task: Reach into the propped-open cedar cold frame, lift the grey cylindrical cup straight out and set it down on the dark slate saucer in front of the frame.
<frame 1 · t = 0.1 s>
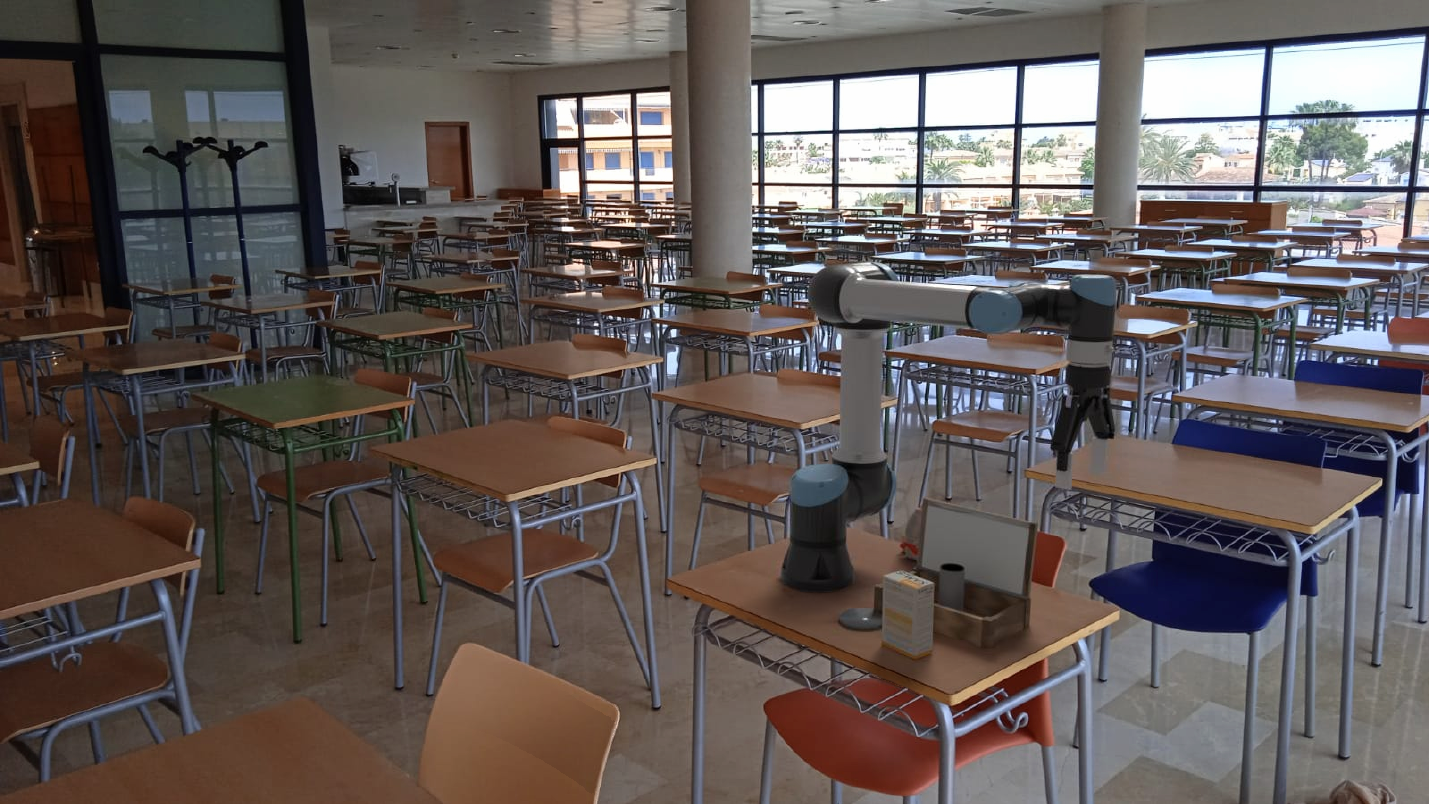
hand: (1080, 480, 188), 28 cm above the table, fingers open, 13 cm apart
grey cylindrical cup: (950, 620, 197), resting in cold frame
supplement box: (906, 650, 185), on the table
cold frame: (950, 619, 197), on the table
figurine: (916, 557, 231), on the table
lid: (973, 547, 200), point 12 cm above the table, hinge at 96.8°, touching cold frame
saucer: (862, 620, 197), on the table
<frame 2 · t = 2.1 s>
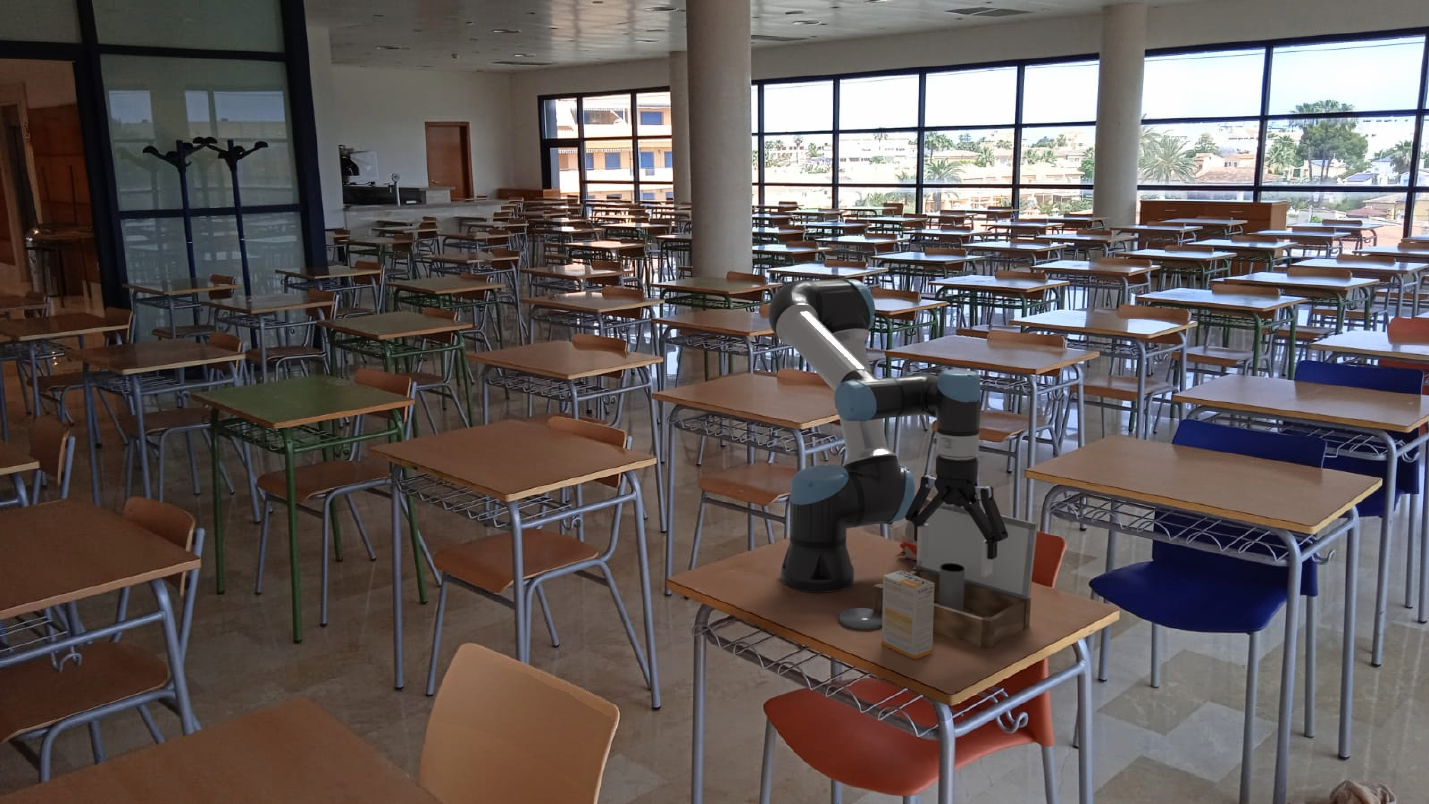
hand: (953, 566, 195), 10 cm above the table, fingers open, 13 cm apart
nothing on the table moved.
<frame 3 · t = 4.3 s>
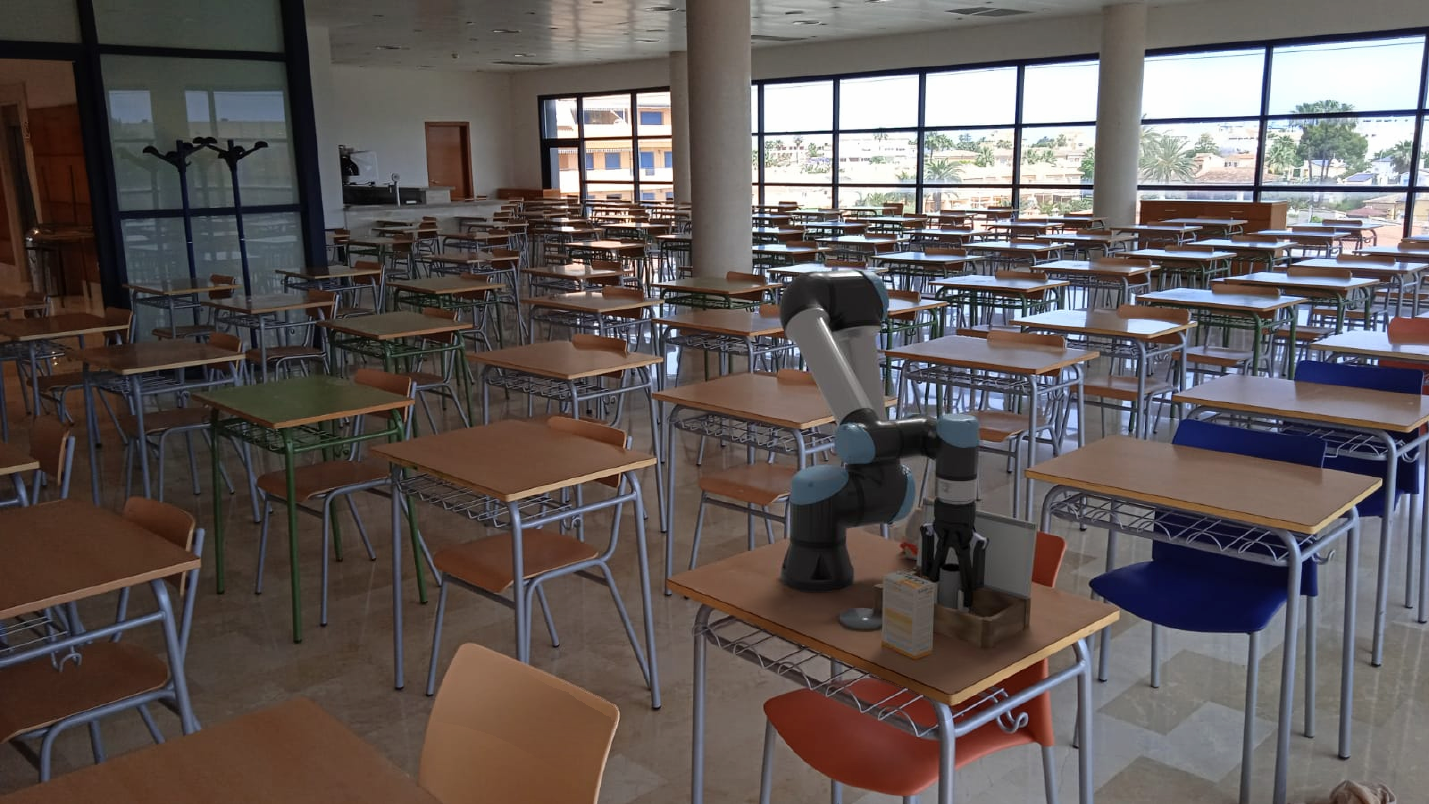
hand: (950, 617, 197), 0 cm above the table, fingers closed on grey cylindrical cup, 4 cm apart
grey cylindrical cup: (950, 620, 197), resting in cold frame, touching gripper
everything else where it was.
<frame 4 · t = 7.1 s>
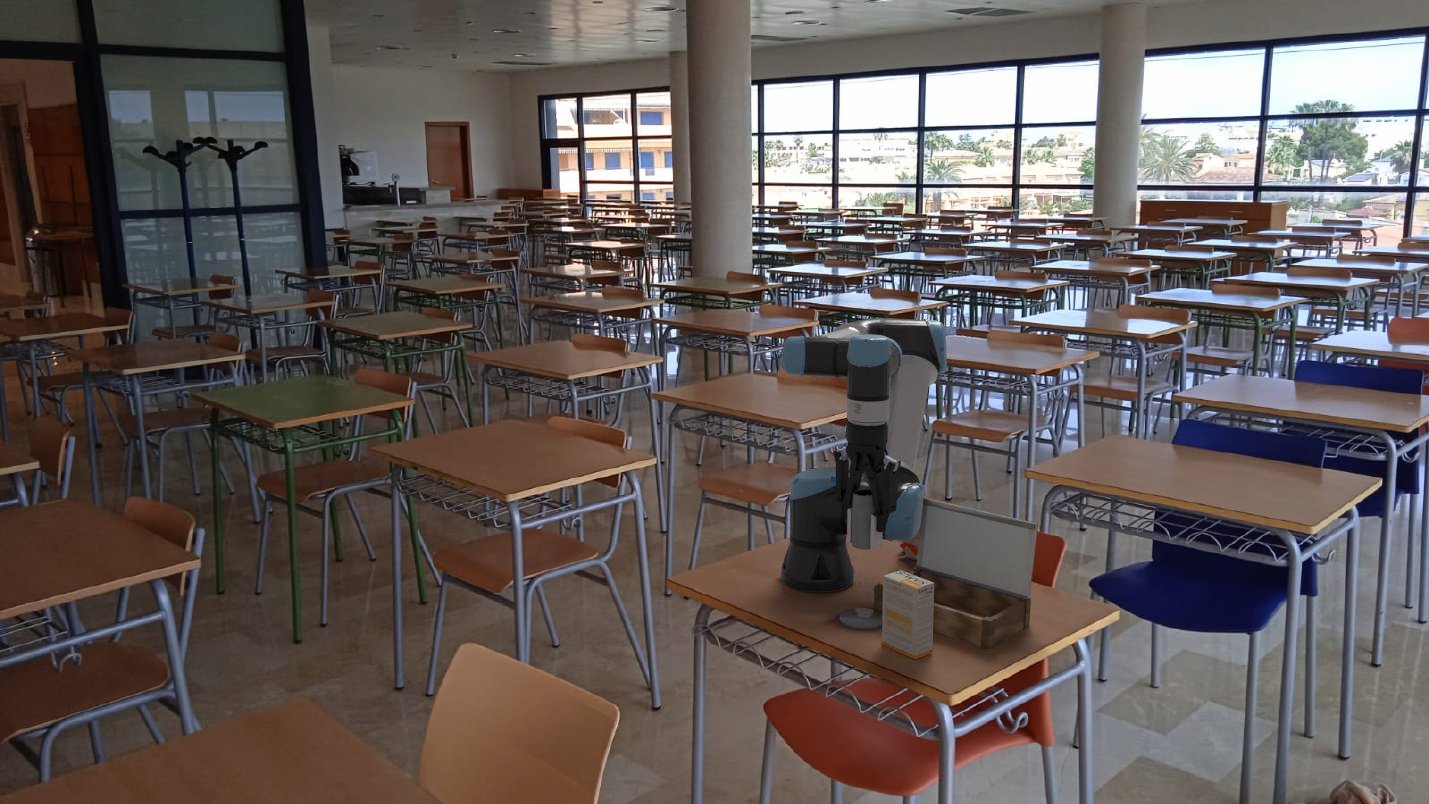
hand: (864, 544, 194), 15 cm above the table, fingers closed on grey cylindrical cup, 4 cm apart
grey cylindrical cup: (864, 546, 194), point 15 cm above the table, touching gripper
everything else where it was.
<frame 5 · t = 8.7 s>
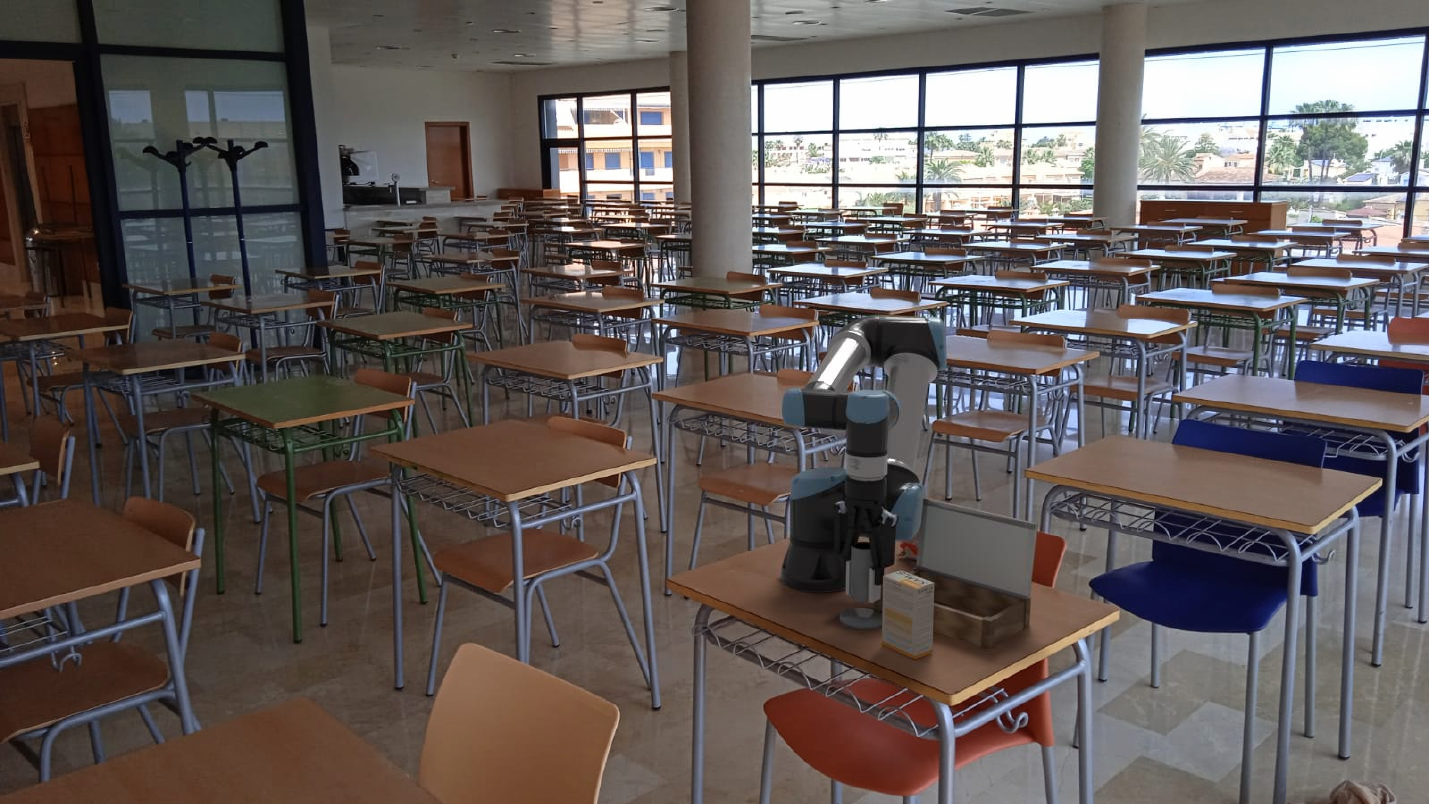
hand: (862, 596, 196), 5 cm above the table, fingers closed on grey cylindrical cup, 4 cm apart
grey cylindrical cup: (862, 599, 196), point 4 cm above the table, touching gripper
everything else where it was.
when the fingers open (2 cm above the table, at t = 10.0 s): grey cylindrical cup stays where it is, resting on saucer.
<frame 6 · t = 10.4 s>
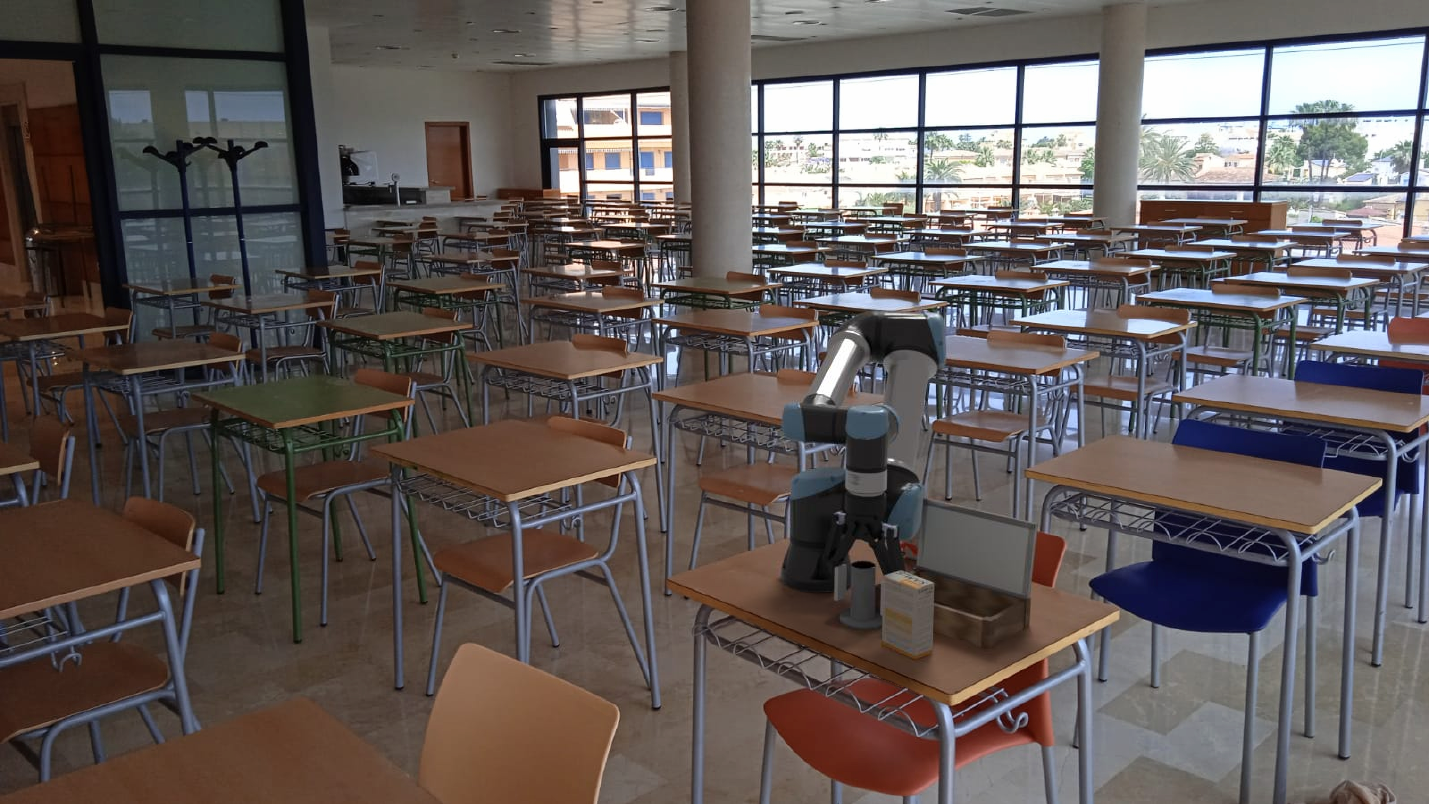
hand: (862, 605, 196), 3 cm above the table, fingers open, 10 cm apart
grey cylindrical cup: (862, 617, 197), point 1 cm above the table, touching saucer
everything else where it was.
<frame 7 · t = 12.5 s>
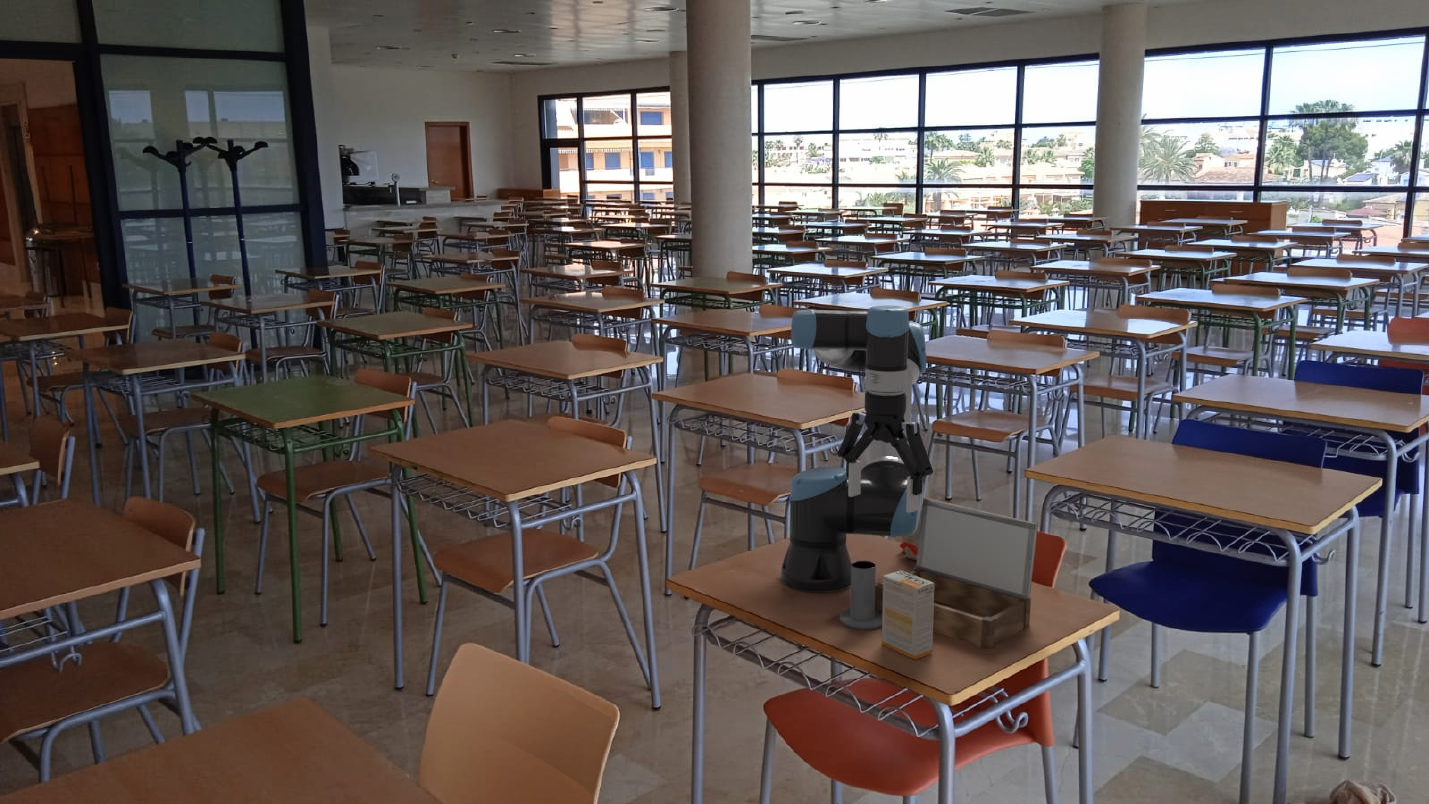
hand: (882, 503, 196), 22 cm above the table, fingers open, 13 cm apart
nothing on the table moved.
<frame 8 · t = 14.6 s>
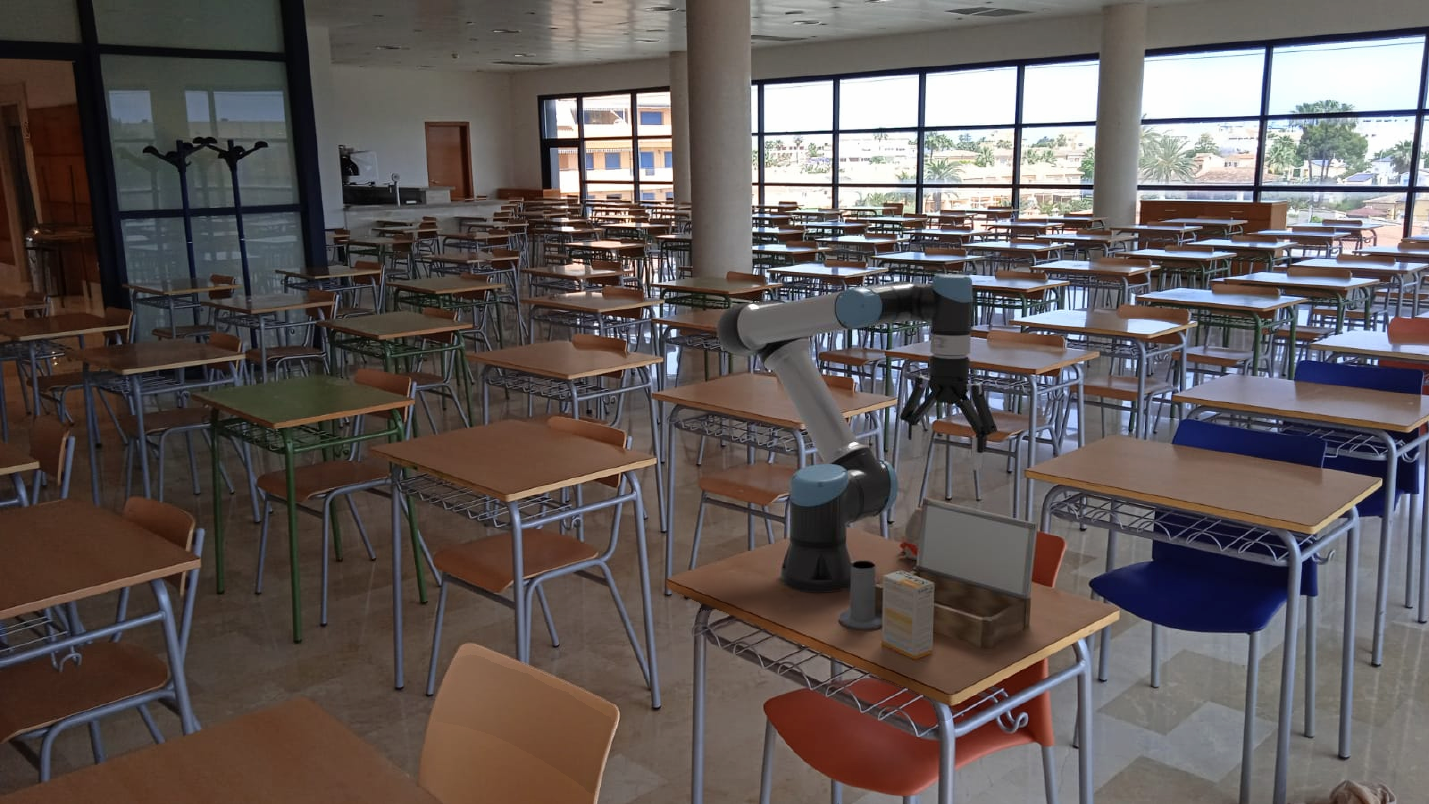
hand: (945, 462, 206), 27 cm above the table, fingers open, 13 cm apart
nothing on the table moved.
at the end: grey cylindrical cup 0.0 cm from the saucer (horizontally); grey cylindrical cup tilted 0°; grey cylindrical cup point 0.6 cm above the table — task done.
